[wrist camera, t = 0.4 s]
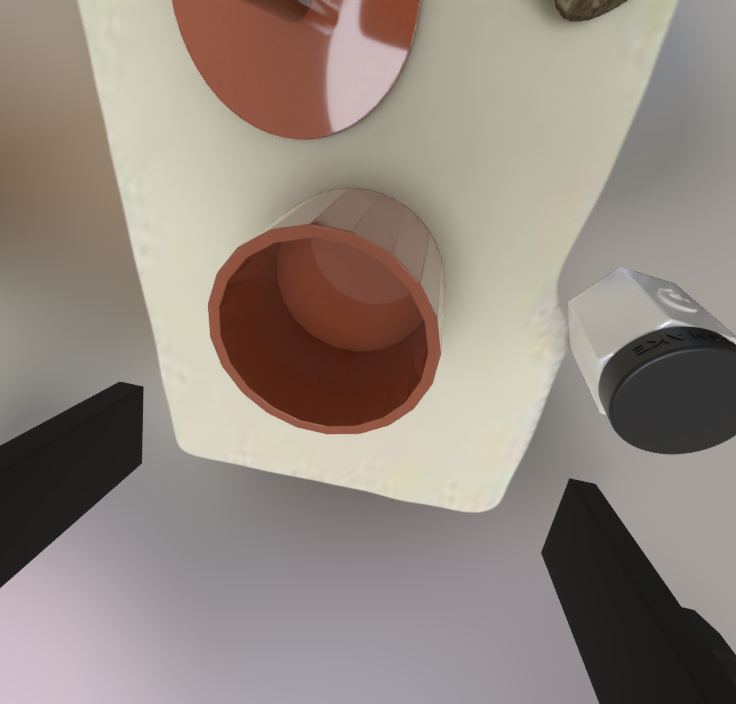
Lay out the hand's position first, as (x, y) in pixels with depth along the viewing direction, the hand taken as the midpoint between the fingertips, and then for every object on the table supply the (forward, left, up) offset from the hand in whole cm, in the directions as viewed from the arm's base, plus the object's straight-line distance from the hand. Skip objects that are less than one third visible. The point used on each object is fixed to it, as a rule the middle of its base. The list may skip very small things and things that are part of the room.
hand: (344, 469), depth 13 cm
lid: (0, -17, -25) cm, 31 cm away
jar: (-13, +14, -26) cm, 32 cm away
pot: (+6, +1, -26) cm, 27 cm away
